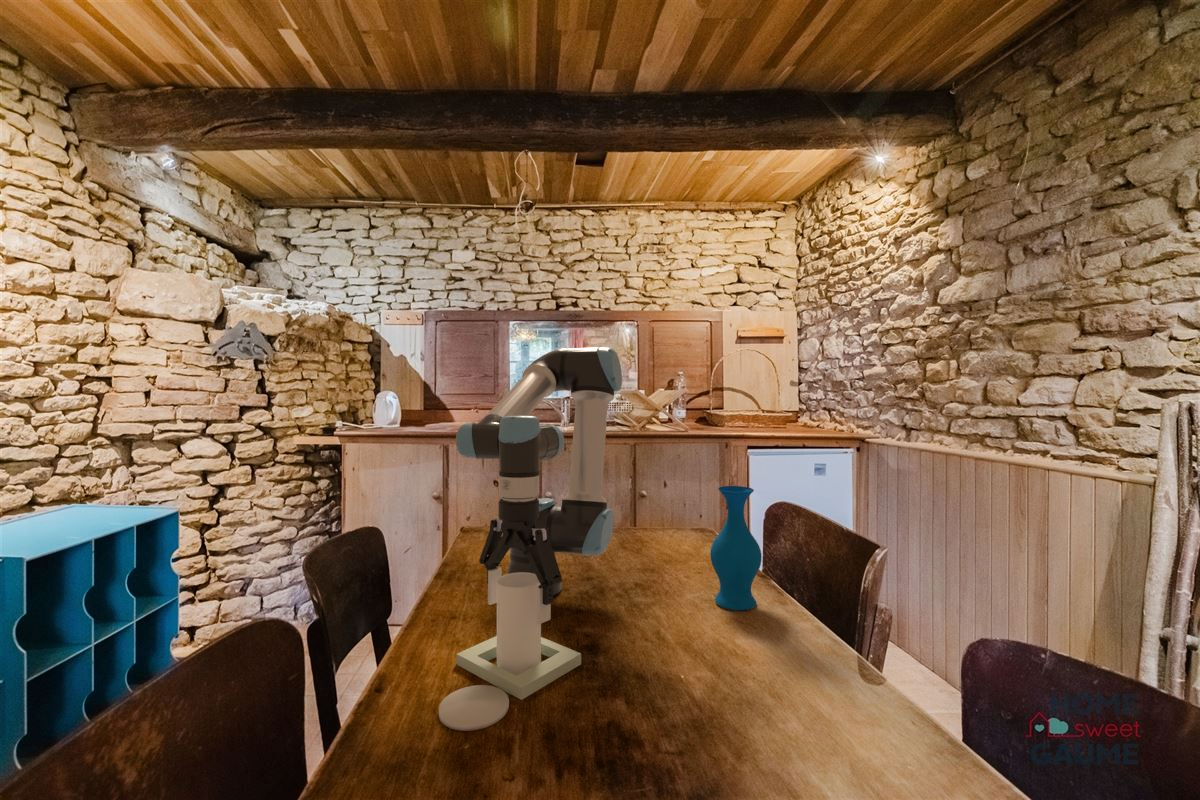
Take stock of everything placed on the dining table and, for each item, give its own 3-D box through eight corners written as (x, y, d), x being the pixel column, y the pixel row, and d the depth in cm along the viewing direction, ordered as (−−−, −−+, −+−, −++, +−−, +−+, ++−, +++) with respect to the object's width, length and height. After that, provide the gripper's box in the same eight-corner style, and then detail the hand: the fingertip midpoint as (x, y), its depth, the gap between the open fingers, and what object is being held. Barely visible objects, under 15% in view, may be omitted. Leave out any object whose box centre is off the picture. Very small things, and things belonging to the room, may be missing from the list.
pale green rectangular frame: (456, 664, 98) (456, 653, 98) (516, 636, 109) (516, 626, 109) (521, 699, 86) (521, 687, 86) (581, 664, 98) (581, 653, 98)
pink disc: (424, 711, 83) (424, 706, 83) (480, 682, 92) (480, 678, 92) (466, 740, 76) (466, 735, 76) (523, 706, 85) (523, 701, 85)
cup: (532, 678, 93) (532, 589, 93) (489, 673, 95) (489, 585, 95) (546, 656, 101) (546, 573, 101) (506, 651, 103) (506, 570, 103)
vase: (762, 597, 131) (762, 486, 131) (760, 617, 119) (760, 495, 119) (713, 591, 135) (713, 483, 135) (707, 610, 123) (707, 491, 123)
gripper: (461, 493, 103) (460, 601, 103) (552, 509, 87) (551, 637, 87) (492, 488, 109) (491, 590, 108) (582, 503, 93) (581, 623, 93)
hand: (518, 611), depth 98 cm, fingers open, 13 cm apart
